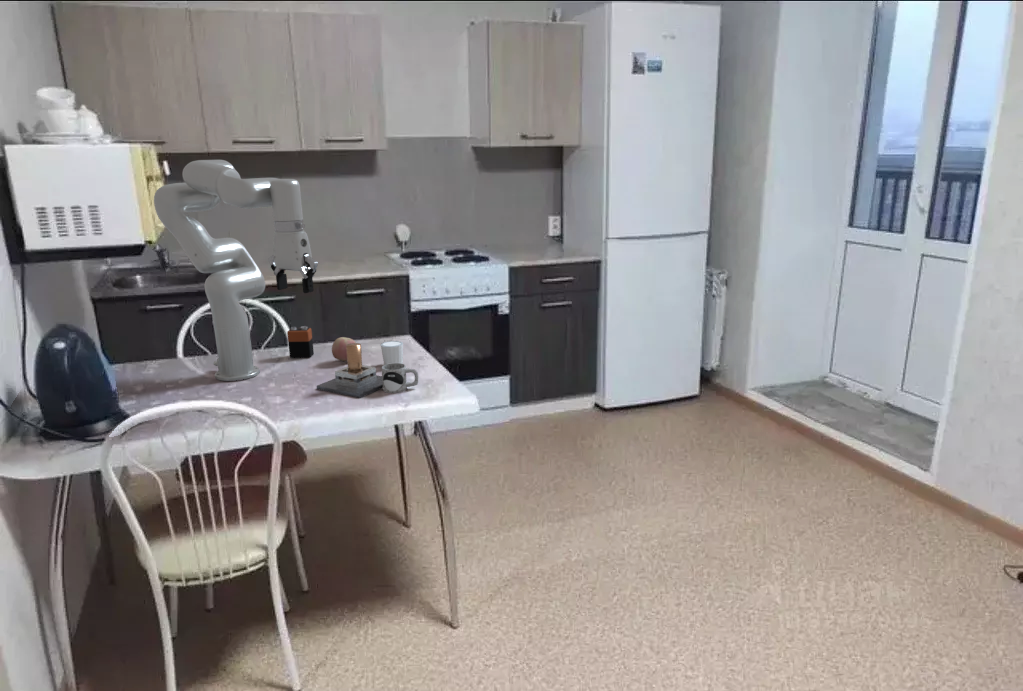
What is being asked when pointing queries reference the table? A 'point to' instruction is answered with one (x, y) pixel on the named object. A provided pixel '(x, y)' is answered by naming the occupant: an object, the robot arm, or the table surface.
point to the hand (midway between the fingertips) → (295, 290)
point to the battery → (300, 342)
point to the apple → (341, 348)
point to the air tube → (354, 358)
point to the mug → (397, 377)
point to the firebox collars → (354, 382)
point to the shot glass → (392, 352)
